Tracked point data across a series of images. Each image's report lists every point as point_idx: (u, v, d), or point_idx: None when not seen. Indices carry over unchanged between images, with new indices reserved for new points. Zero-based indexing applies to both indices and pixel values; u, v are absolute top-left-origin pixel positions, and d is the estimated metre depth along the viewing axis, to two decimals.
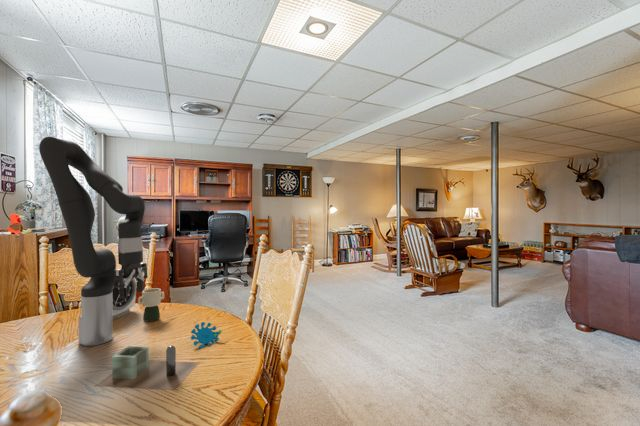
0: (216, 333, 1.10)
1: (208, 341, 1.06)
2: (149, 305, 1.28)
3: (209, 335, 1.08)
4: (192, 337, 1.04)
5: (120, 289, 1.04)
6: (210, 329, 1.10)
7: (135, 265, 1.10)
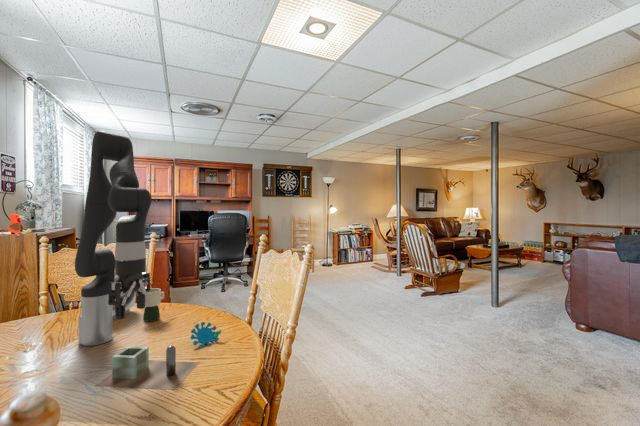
0: (216, 333, 1.10)
1: (208, 341, 1.06)
2: (149, 305, 1.28)
3: (209, 335, 1.08)
4: (192, 337, 1.04)
5: (116, 307, 0.82)
6: (210, 329, 1.10)
7: (136, 276, 0.88)
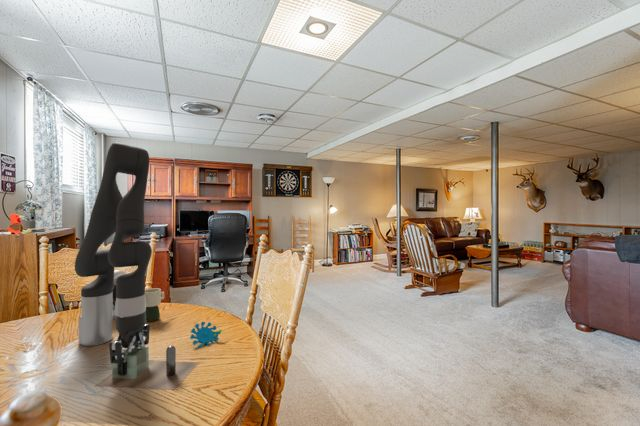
0: (216, 333, 1.10)
1: (207, 341, 1.07)
2: (149, 305, 1.28)
3: (209, 335, 1.08)
4: (191, 336, 1.05)
5: (118, 364, 0.83)
6: (210, 329, 1.10)
7: (136, 329, 0.88)
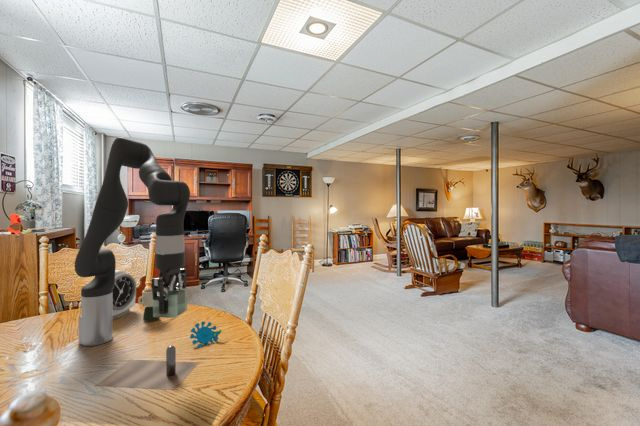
0: (216, 333, 1.10)
1: (207, 340, 1.07)
2: (149, 305, 1.28)
3: (208, 334, 1.08)
4: (191, 336, 1.05)
5: (160, 302, 0.82)
6: (210, 328, 1.10)
7: (175, 270, 0.87)
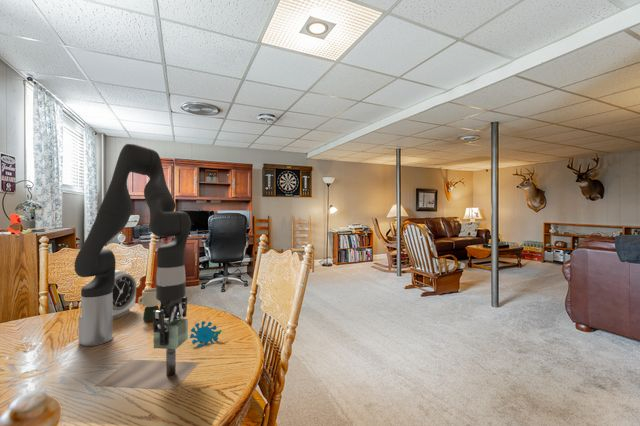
0: (216, 333, 1.10)
1: (207, 340, 1.07)
2: (149, 305, 1.28)
3: (208, 334, 1.09)
4: (191, 336, 1.05)
5: (160, 334, 0.82)
6: (210, 328, 1.10)
7: (176, 300, 0.87)
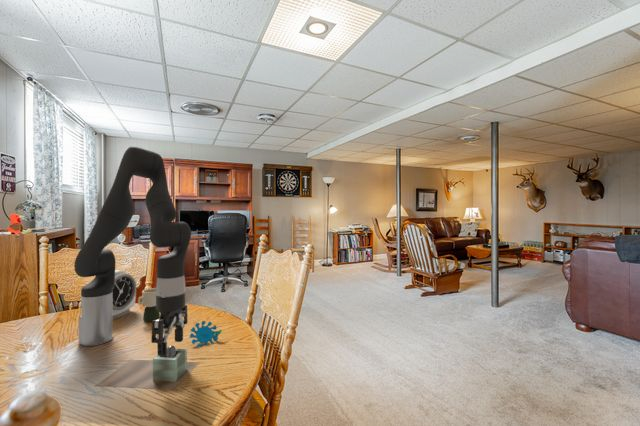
0: (216, 332, 1.11)
1: (207, 340, 1.07)
2: (149, 305, 1.28)
3: (208, 334, 1.09)
4: (191, 335, 1.06)
5: (158, 344, 0.82)
6: (210, 328, 1.11)
7: (176, 310, 0.87)
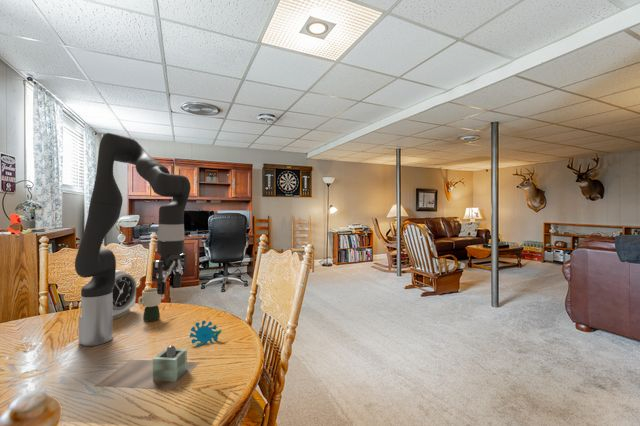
0: (216, 332, 1.11)
1: (206, 340, 1.07)
2: (149, 305, 1.28)
3: (208, 334, 1.09)
4: (191, 335, 1.06)
5: (158, 283, 0.90)
6: (210, 328, 1.11)
7: (175, 256, 0.95)
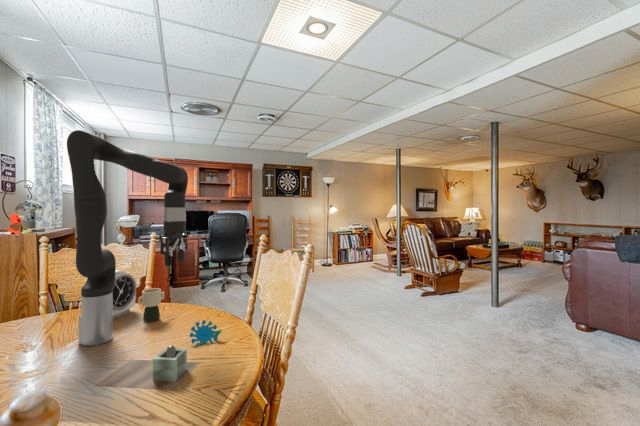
0: (216, 332, 1.11)
1: (206, 340, 1.07)
2: (149, 305, 1.28)
3: (208, 334, 1.09)
4: (190, 334, 1.06)
5: (165, 256, 1.07)
6: (210, 328, 1.11)
7: (178, 235, 1.13)
